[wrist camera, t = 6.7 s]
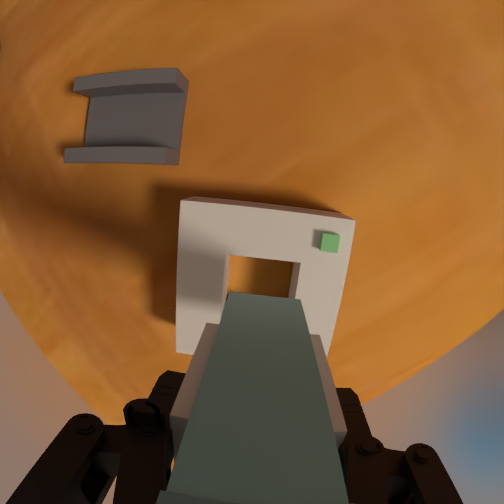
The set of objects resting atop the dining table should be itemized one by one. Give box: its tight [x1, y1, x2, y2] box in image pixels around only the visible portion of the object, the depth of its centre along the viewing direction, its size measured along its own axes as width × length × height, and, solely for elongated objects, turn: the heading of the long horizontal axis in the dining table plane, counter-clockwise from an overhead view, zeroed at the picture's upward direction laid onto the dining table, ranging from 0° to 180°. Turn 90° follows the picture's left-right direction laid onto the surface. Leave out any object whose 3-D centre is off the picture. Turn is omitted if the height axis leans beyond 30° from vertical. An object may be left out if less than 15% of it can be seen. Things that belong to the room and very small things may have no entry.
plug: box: [156, 291, 355, 504], centre depth 11 cm, size 4×4×14 cm
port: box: [176, 196, 356, 357], centre depth 23 cm, size 12×12×5 cm
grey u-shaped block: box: [64, 68, 189, 165], centre depth 21 cm, size 9×7×4 cm
